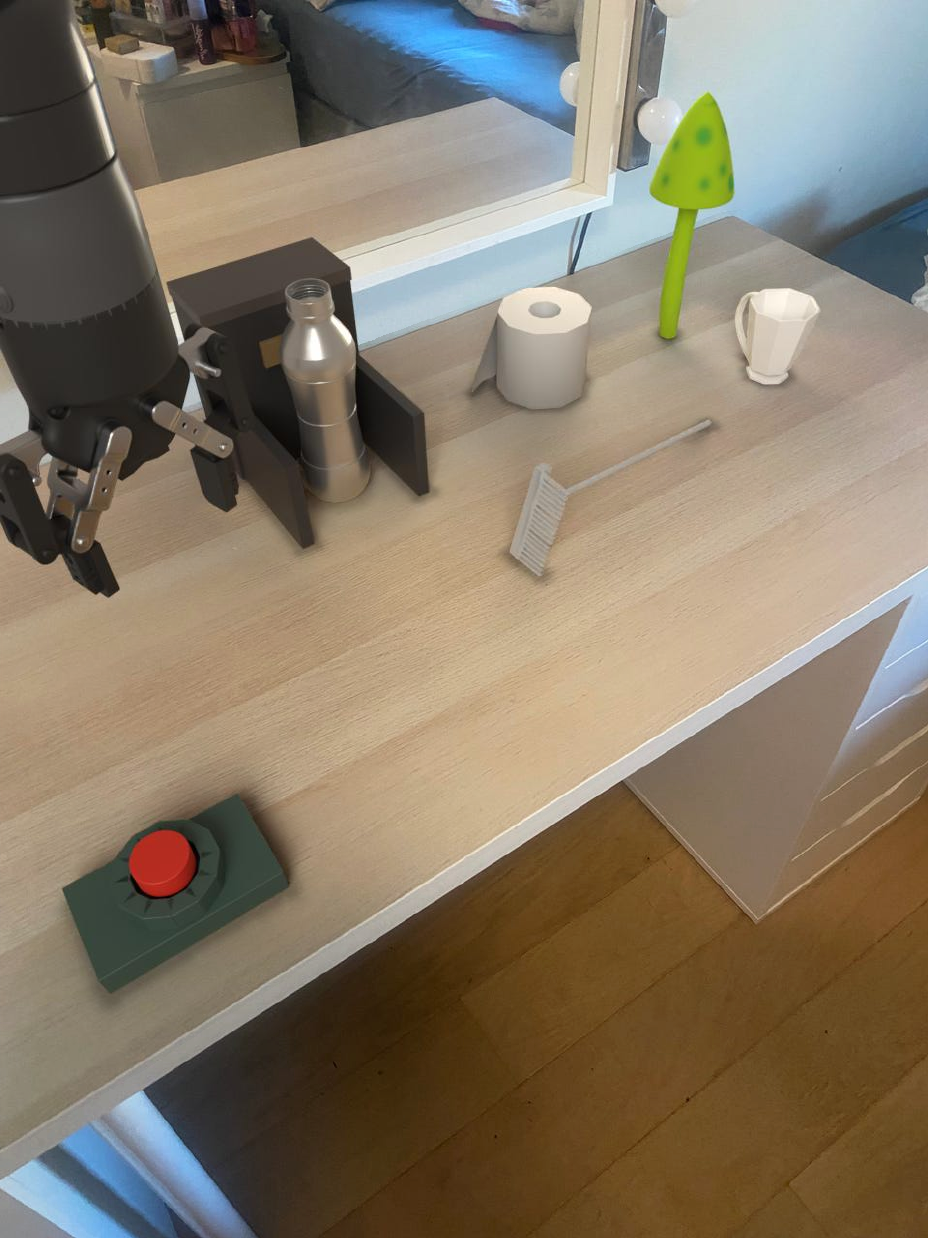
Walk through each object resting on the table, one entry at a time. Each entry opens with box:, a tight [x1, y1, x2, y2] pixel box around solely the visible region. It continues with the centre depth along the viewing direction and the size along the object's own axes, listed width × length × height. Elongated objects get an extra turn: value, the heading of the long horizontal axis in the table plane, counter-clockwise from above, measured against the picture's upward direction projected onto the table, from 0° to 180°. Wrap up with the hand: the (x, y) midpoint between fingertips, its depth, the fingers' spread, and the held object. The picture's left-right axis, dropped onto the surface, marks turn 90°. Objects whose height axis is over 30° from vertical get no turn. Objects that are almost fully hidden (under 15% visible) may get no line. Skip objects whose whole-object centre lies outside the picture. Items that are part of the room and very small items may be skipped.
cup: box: [734, 287, 822, 386], centre depth 94 cm, size 7×10×8 cm
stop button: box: [129, 830, 196, 897], centre depth 54 cm, size 4×4×2 cm
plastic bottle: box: [279, 278, 371, 504], centre depth 77 cm, size 6×7×20 cm
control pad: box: [61, 792, 290, 995], centre depth 56 cm, size 12×7×4 cm, turn 124°
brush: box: [509, 419, 712, 578], centre depth 82 cm, size 4×27×9 cm, turn 132°
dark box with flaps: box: [165, 236, 430, 550], centre depth 81 cm, size 19×14×17 cm
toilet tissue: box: [470, 286, 593, 410], centre depth 92 cm, size 9×13×9 cm
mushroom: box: [648, 91, 735, 339], centre depth 93 cm, size 8×8×25 cm
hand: (165, 544), depth 51 cm, fingers open, 8 cm apart
